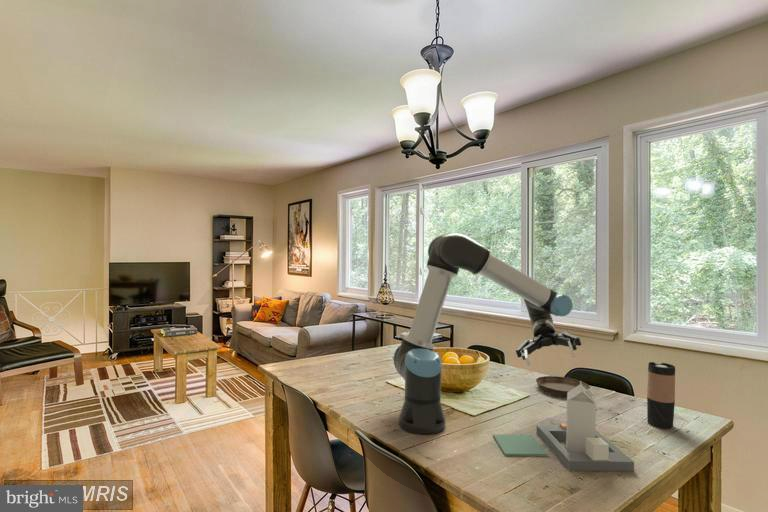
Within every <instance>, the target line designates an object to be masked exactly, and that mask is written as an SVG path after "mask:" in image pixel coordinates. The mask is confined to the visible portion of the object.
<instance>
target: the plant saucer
mask: <svg viewBox="0 0 768 512" xmlns="http://www.w3.org/2000/svg"><path fill="white" fill-rule="evenodd" d="M580 381H581V383H582V386H583V387H584V388H585V389H586V390H587V389H590V390H591V386H590V385H589V384H588V383H586V382H584V381H582V380H578V379H575V378H570V377H564V376H556V375H555V376H554V375H545V376H539V377H537V378H536V379H535V382H536V384H537V386H538V387H539V388H540V389H541V390H542V391H544V392H546V393H548V394H551V395H554V396H558V397H564V398H567V392H569V391H571V390H572V389H574V388H575V387H577V386H578V385H580Z"/></svg>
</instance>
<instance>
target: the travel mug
mask: <svg viewBox="0 0 768 512" xmlns="http://www.w3.org/2000/svg"><path fill="white" fill-rule="evenodd" d="M647 366H648V367H647V389H646V390H647V393H646V402H647V403H646V404H647V405H646V410H647V411H646V412H647V413H646V416H647V423H648V425H650V426H652V427H655V428H659V429H664V430H670V429H673V428H674V420H675V419H674V416H675V404H676V399H675V398H676V397H675V396H676V366H675V365H673V364H670V363H666V362H661V363H655V361H651V362H648V364H647Z"/></svg>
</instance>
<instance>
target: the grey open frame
mask: <svg viewBox="0 0 768 512" xmlns="http://www.w3.org/2000/svg"><path fill="white" fill-rule="evenodd" d="M566 426H567V423H559V425H558V424H557V425H556V424H555V425H551V424H549V425H548V424H544V425H543V424H541V425H540V424H539V425H538V424H537V425H536V434H537V435H538V437H539V438H541V440H542V441H543V442H544V444H545V445H546V446H547V447H548V448H549V450H550V451H552V453H553V454H554V455H555V456H556V458H558V459H559V461H560V460H561V461H560V462H561V463H562V464H563V465H564V467H565V468H566V469H567V468H568V469H569V470H568V469H567V470H568V471H570V470H579V472H608V471H607V470H610V471H609V472H634V471H635V461H634V460H633V459H631V458H630V457H629V456H628V455H627V454H626V453H624V452H623V451H622V450H621V449H619V448H618V447H617V446H616V445H614V444H613V443H612V442H611V441H610V440H608V439H607V438H606V437H604V436H603V435H602V434H601V433H600V432H598V430H596V429H595V438H586V452H568V451H567V448H565V447H564V446H563V444H562V443H560V442H559V440H566ZM601 470H602V471H601ZM570 472H571V471H570Z"/></svg>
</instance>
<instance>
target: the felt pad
mask: <svg viewBox="0 0 768 512" xmlns="http://www.w3.org/2000/svg"><path fill="white" fill-rule="evenodd" d="M492 437H493V439H494V440H495V442H496V443H497V444H498V445H497V446H498V447H499V449H500V450H501V452H502V453H503V455H504V456H505V457H509V456H510V457H512V456H513V457H549V453H548V452H547V450H546V449H544V447H543V446H542V445H541V444H540V443H539V441H538V440H537V439H536V438H535V437H534V436H533V434H513V433H512V434H510V433H508V434H506V433H505V434H504V433H503V434H500V433H499V434H497V433H496V434H495V433H493V434H492Z"/></svg>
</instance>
